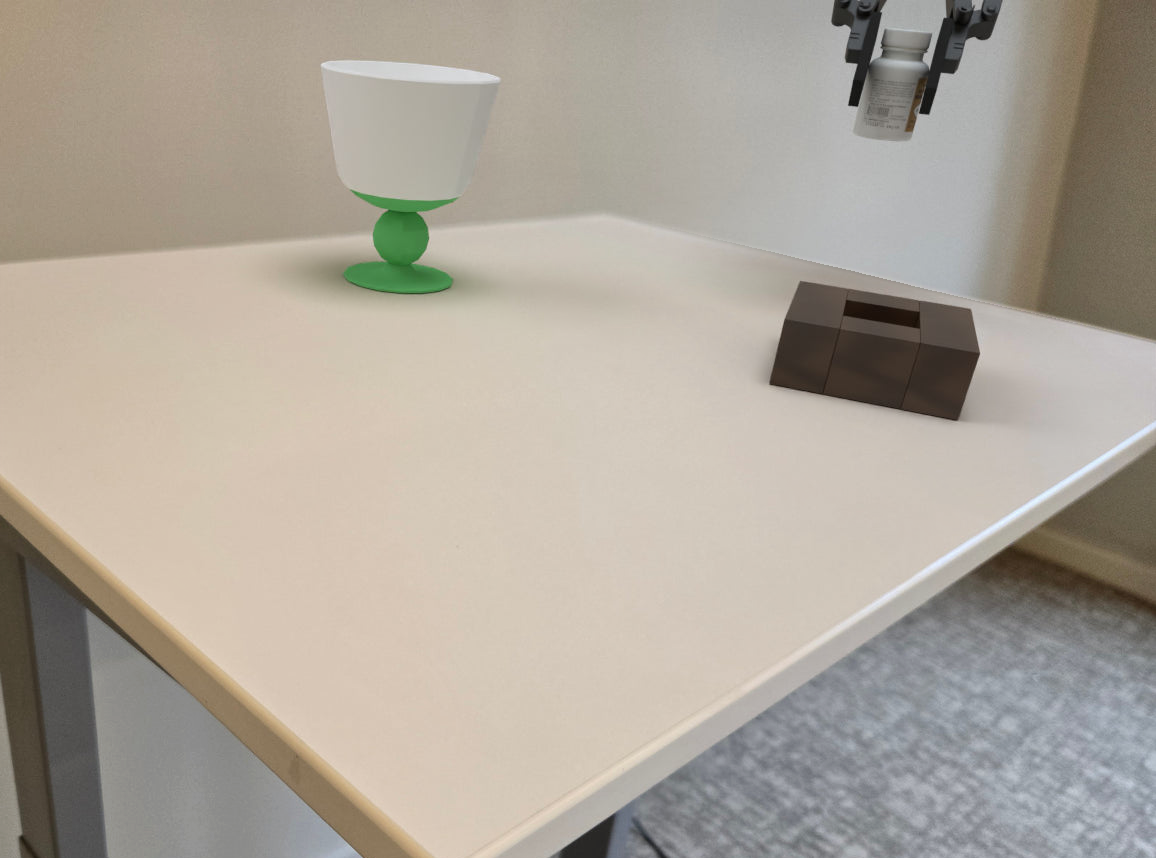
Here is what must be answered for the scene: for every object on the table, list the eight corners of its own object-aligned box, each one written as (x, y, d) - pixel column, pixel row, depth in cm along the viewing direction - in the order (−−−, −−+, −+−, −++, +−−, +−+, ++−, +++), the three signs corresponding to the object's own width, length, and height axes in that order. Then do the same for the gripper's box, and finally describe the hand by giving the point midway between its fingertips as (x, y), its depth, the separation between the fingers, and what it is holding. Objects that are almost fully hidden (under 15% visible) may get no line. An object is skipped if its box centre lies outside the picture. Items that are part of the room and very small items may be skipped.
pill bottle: (919, 144, 83) (949, 33, 79) (863, 139, 83) (891, 28, 79) (897, 136, 87) (925, 30, 83) (844, 132, 87) (869, 25, 83)
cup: (393, 250, 97) (405, 59, 90) (514, 285, 90) (537, 80, 82) (279, 271, 88) (282, 60, 80) (403, 312, 80) (419, 83, 73)
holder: (952, 369, 79) (971, 308, 77) (958, 420, 69) (980, 352, 67) (785, 338, 82) (800, 280, 80) (768, 384, 72) (784, 318, 70)
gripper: (1056, -90, 87) (1004, 146, 81) (833, -103, 92) (768, 118, 86) (1089, -178, 80) (1034, 73, 74) (845, -186, 85) (775, 47, 79)
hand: (891, 97), depth 80 cm, fingers closed on pill bottle, 4 cm apart
